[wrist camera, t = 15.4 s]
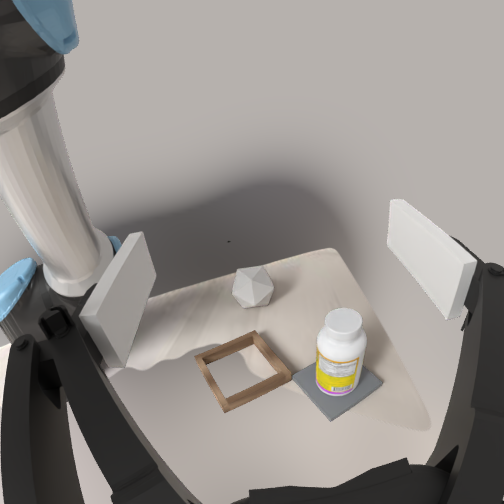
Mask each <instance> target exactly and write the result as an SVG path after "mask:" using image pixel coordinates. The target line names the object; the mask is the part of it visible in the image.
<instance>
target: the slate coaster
mask: <svg viewBox="0 0 504 504" xmlns="http://www.w3.org/2000/svg"><path fill="white" fill-rule="evenodd" d="M292 379H293V380H294V381H295V382H296V383H297V385H298V386H299V387H300V388H301V389H302V390H303V391H304V393H305V394H306V395H307V396H308V397H309V398H310V399H311V401H312V402H313V403H314V404H315V405H316V406H317V407H318V408H319V409H320V411H321V412H322V413H323V414H324V415H325V416H326V417H327V418H328V419H329V421H330V422H331V421H333V420H334V419H336V418H337V417H339V416H340V415H342V414H343V413H345V412H346V411H348V410H349V409H350V408H352V407H353V406H355V405H356V404H357V403H359V402H360V401H362V400H363V399H364V398H366V397H367V396H368V395H370V394H371V393H372V392H374V391H375V390H376V389H378V388H379V387H380V386H382V383H383V382H382V381H380V380H379V379H378V378H377V377H376V376H375V375H374V374H372V373H371V372H370V371H369V370H368V369H367V368H366V367H364V366H363V365H362V369H361V374H360V379H359V382H358V385H357V386H356V388H355V389H354V390H353V391H352V392H350V393H348V394H346V395H343V396H331V395H328V394H326V393H324V392H322V391H321V390H320V389H319V387H318V386H317V383H316V362H315V363H313V364H311V365H310V366H308V367H306V368H304V369H303V370H301V371H299V372H297V373H295V374H293V375H292Z"/></svg>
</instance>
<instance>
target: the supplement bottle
mask: <svg viewBox="0 0 504 504" xmlns="http://www.w3.org/2000/svg"><path fill="white" fill-rule="evenodd" d="M362 323H363V320H362V317H361V315H360V314H359V313H358V312H357V311H355V310H353V309H350V308H337V309H334V310H332V311H330V312H329V313H328V314H327V316H326V318H325V326H324V327H323V328H322V329H321V330H320V332H319V334H318V337H317V355H316V383H317V386H318V387H319V389H320V390H321V391H322V392H324V393H326V394H328V395H331V396H343V395H346V394H348V393H350V392H352V391H353V390H354V389H355V388H356V386H357V385H358V382H359V379H360V374H361V369H362V365H363V360H364V355H365V350H366V345H367V336H366V333H365V331H364V330H363V328H362Z"/></svg>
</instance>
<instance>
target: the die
mask: <svg viewBox="0 0 504 504" xmlns="http://www.w3.org/2000/svg"><path fill="white" fill-rule="evenodd" d="M273 290H274V285H273V282H272V280H271V278H270V277H269V275H268V273H267V271H266V270H265V268H264V266H256V267H248V268H242V269H237V272H236V276H235V281H234V285H233V290H232V295H233V296H234V297H235V299H236V300H237V301H238V302H239V304H240V305H241V306H242V308H250V307H257V306H265V305H268V304H269V301H270V298H271V296H272V293H273Z"/></svg>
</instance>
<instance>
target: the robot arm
mask: <svg viewBox="0 0 504 504" xmlns="http://www.w3.org/2000/svg"><path fill="white" fill-rule="evenodd" d="M78 44H79V37H78V31H77V26H76V21H75V16H74V10H73V4H72V0H0V197H1V199H2V200H3V202H4V204H5V205H6V207H7V209H8V210H9V212H10V214H11V215H12V217H13V218H14V220H15V222H16V223H17V225H18V226H19V228H20V229H21V231H22V232H23V234H24V235H25V237H26V238H27V240H28V241H29V243H30V244H31V245H32V247H33V248H34V249H35V251H36V252H37V254H38V255H39V256H40V258H41V259H42V260H43V264H41V265H38V266H37V263H36V261H34V259H32V258H25V259H22V260H20V261H18V262H17V263H15V264H14V265H12V266H11V267H9V268H8V269H7V270H6V271H5V272H4V273H2V274H1V275H0V328H1V329H2V331H3V332H4V334H5V335H6V337H7V338H8V340H9V341H10V343H11V344H12V345H11V348H10V353H9V358H8V364H7V370H6V377H5V385H4V394H3V404H2V420H1V474H2V487H3V497H4V504H85V503H84V500H83V496H82V492H81V488H80V484H79V479H78V476H77V471H76V465H75V460H74V455H73V449H72V444H71V437H70V430H69V422H68V414H67V404H66V402H68V401H69V404H70V407H71V409H72V411H73V414H74V416H75V418H76V421H77V423H78V425H79V428H80V430H81V432H82V434H83V436H84V438H85V441H86V443H87V445H88V447H89V448H90V451H91V453H92V455H93V457H94V459H95V460H96V462H97V464H98V466H99V468H100V469H101V471H102V473H103V475H104V477H105V478H106V480H107V482H108V484H109V485H110V487H111V489H112V491H113V494H112V495H111V500H112V502H113V504H202V503H201V502H200V501H199V500H198V499H197V498H196V497H195V496H193V494H191V492H190V491H189V490H188V489H187V488H186V487H185V486H184V485H183V483H182V482H181V481H180V480H179V479H178V478H177V476H176V475H175V474H174V473H173V472H172V470H171V469H170V468H169V467H168V466H167V465H166V463H165V462H164V461H163V459H162V458H161V457H160V455H159V454H158V453H157V452H156V450H155V449H154V448H153V447H152V445H151V444H150V442H149V441H148V439H147V438H146V437H145V435H144V434H143V433H142V431H141V430H140V428H139V427H138V425H137V424H136V422H135V421H134V420H133V418H132V416H131V415H130V413H129V412H128V411H127V409H126V407H125V406H124V404H123V403H122V401H121V399H120V398H119V396H118V395H117V393H116V391H115V390H114V388H113V386H112V385H111V383H110V381H109V379H108V378H107V376H106V374H105V372H104V371H103V369H102V368H101V366H100V364H101V361H102V358H103V359H104V361H105V362H106V364H107V365H108V367H112V368H125V366H126V363H127V359H128V356H129V353H130V350H131V347H132V344H133V341H134V338H135V335H136V332H137V329H138V326H139V323H140V320H141V317H142V314H143V311H144V309H145V306H146V303H147V300H148V297H149V295H150V292H151V289H152V287H153V284H154V281H155V278H156V273H155V270H154V267H153V264H152V260H151V257H150V254H149V251H148V248H147V244H146V241H145V238H144V234H143V232H137V233H131V234H129V236H128V237H127V239H126V240H125V242H124V243H123V244H122V245H121V243H120V241H119V239H118V238H117V237H115V236H111V237H109V236H108V237H107V236H106V235H105V234H104V233H103V232H102V231H100V230H98V229H96V228H94V227H93V224H92V222H91V219H90V217H89V214H88V212H87V209H86V206H85V203H84V201H83V198H82V195H81V192H80V189H79V187H78V184H77V181H76V178H75V175H74V172H73V168H72V165H71V162H70V159H69V156H68V152H67V149H66V145H65V142H64V139H63V135H62V131H61V127H60V123H59V119H58V115H57V111H56V107H55V102H54V98H53V93H52V91H53V89H54V88H55V86H56V85H57V83H58V82H59V80H60V79H61V78H62V76H63V74H64V72H65V63H64V54H68V53H69V52H70V51H71V50H72V49H74V48H76V47H77V46H78ZM387 246H388V247H389V248H390V249H391V251H392V252H393V253H394V254H395V255H396V257H397V258H398V259H399V260H400V261H401V262H402V264H403V265H404V266H405V267H406V268H407V270H408V271H409V272H410V273H411V275H412V276H413V277H414V278H415V279H416V280H417V282H418V283H419V285H420V286H421V287H422V288H423V290H424V291H425V292H426V293H427V295H428V296H429V297H430V299H431V300H432V301H433V302H434V304H435V305H436V306H437V308H438V309H439V310H440V312H441V313H442V314H443V316H444V317H445V319H446V320H450V319H453V318H456V317H459V316H460V314H461V312H462V309H463V306H464V305H465V306H466V308H467V309H468V314H467V316H466V318H465V321H464V324H463V326H462V329H461V331H463V330H464V336H463V342H462V348H461V354H460V359H459V364H458V369H457V374H456V378H455V383H454V387H453V391H452V395H451V399H450V402H449V406H448V410H447V413H446V416H445V420H444V423H443V426H442V429H441V432H440V436H439V439H438V441H437V444H436V447H435V449H434V451H433V453H432V455H431V456H430V458H429V460H428V461H427V463H426V465H409V463H408V460H407V458H404V459H401V460H398V461H395V462H392V463H389V464H386V465H382V466H379V467H376V468H372V469H370V470H368V471H366V472H365V473H363V474H361V475H359V476H357V477H355V478H353V479H351V480H349V481H347V482H345V483H343V484H341V485H339V486H336V487H333V488H318V487H297V486H285V487H276V488H267V489H254V490H249V497H247V498H244V499H241V500H238V501H236V502H233V503H232V504H504V501H503V496H504V268H503V267H502V266H500V265H498V264H495V263H486V264H485V263H484V262H483V261H482V260H480V259H479V258H478V257H477V256H476V255H475V254H474V253H473V252H471V251H470V250H469V249H468V248H467V247H465V246H464V244H462V243H461V242H460V241H459V240H457V239H455V238H453V237H451V236H449V235H447V234H446V233H445V232H444V231H443V230H441V229H440V228H439V227H437V226H436V225H435V224H434V223H433V222H431V221H430V220H429V219H428V218H426V217H425V216H424V215H423V214H421V213H420V212H419V211H418V210H416V209H415V208H414V207H412V206H411V205H410V204H408V203H407V202H406V201H404V200H403V199H395V200H390V213H389V226H388V238H387ZM464 328H465V329H464Z"/></svg>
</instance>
